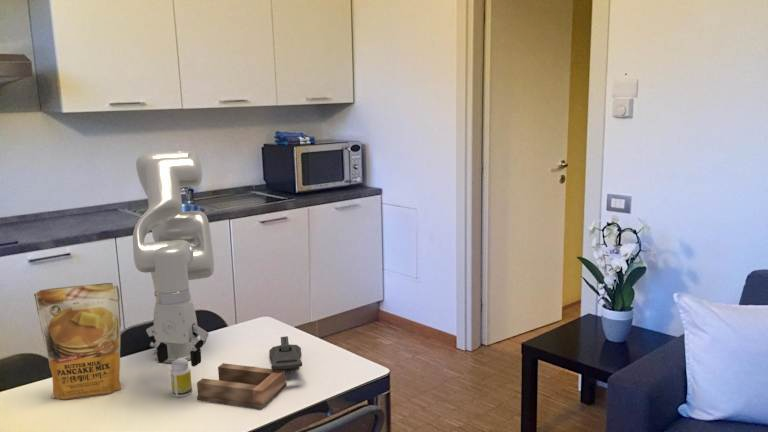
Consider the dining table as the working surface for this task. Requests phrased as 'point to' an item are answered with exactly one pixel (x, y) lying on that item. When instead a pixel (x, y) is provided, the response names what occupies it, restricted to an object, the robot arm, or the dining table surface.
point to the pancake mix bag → (82, 338)
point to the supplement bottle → (181, 378)
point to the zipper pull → (285, 356)
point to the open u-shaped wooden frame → (242, 386)
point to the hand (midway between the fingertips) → (179, 362)
